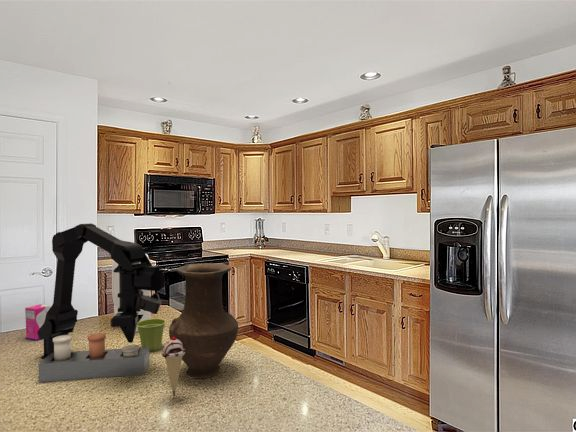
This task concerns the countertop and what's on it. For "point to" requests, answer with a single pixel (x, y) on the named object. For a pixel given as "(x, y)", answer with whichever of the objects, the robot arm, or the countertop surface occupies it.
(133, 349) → the ivory plug far
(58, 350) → the ivory plug near
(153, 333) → the plant pot
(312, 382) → the countertop surface
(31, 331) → the supplement box
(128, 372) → the socket block
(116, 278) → the white plastic jug
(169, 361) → the ice cream cone
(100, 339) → the rust plug
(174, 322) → the vase
